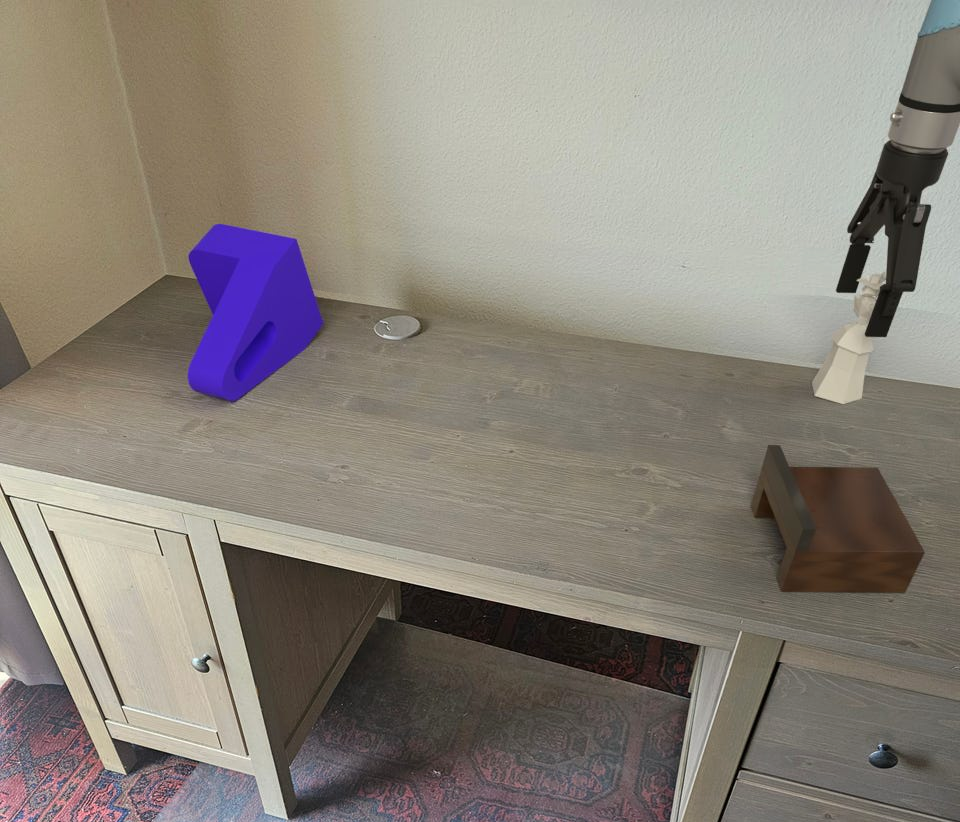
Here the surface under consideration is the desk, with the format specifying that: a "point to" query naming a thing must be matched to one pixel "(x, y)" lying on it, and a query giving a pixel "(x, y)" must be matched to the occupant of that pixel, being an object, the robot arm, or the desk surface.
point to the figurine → (849, 350)
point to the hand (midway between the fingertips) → (859, 313)
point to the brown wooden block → (836, 528)
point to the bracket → (250, 309)
